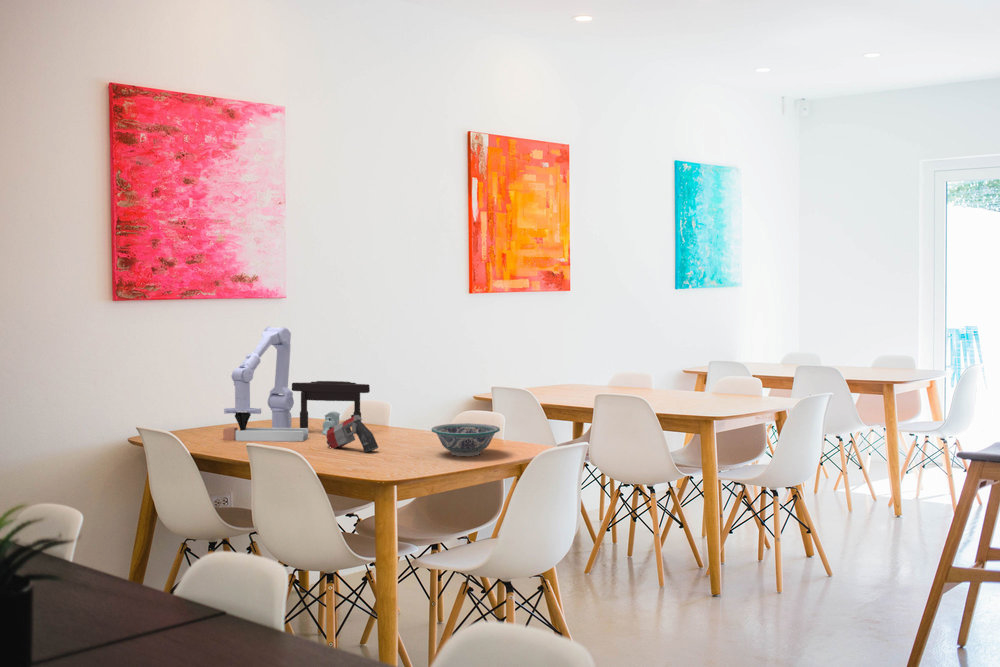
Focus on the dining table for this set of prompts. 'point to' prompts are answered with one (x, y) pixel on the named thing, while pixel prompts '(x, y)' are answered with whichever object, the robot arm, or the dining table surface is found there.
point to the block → (229, 433)
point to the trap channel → (272, 434)
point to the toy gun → (351, 434)
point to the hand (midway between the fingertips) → (242, 431)
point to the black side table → (329, 398)
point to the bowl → (465, 437)
